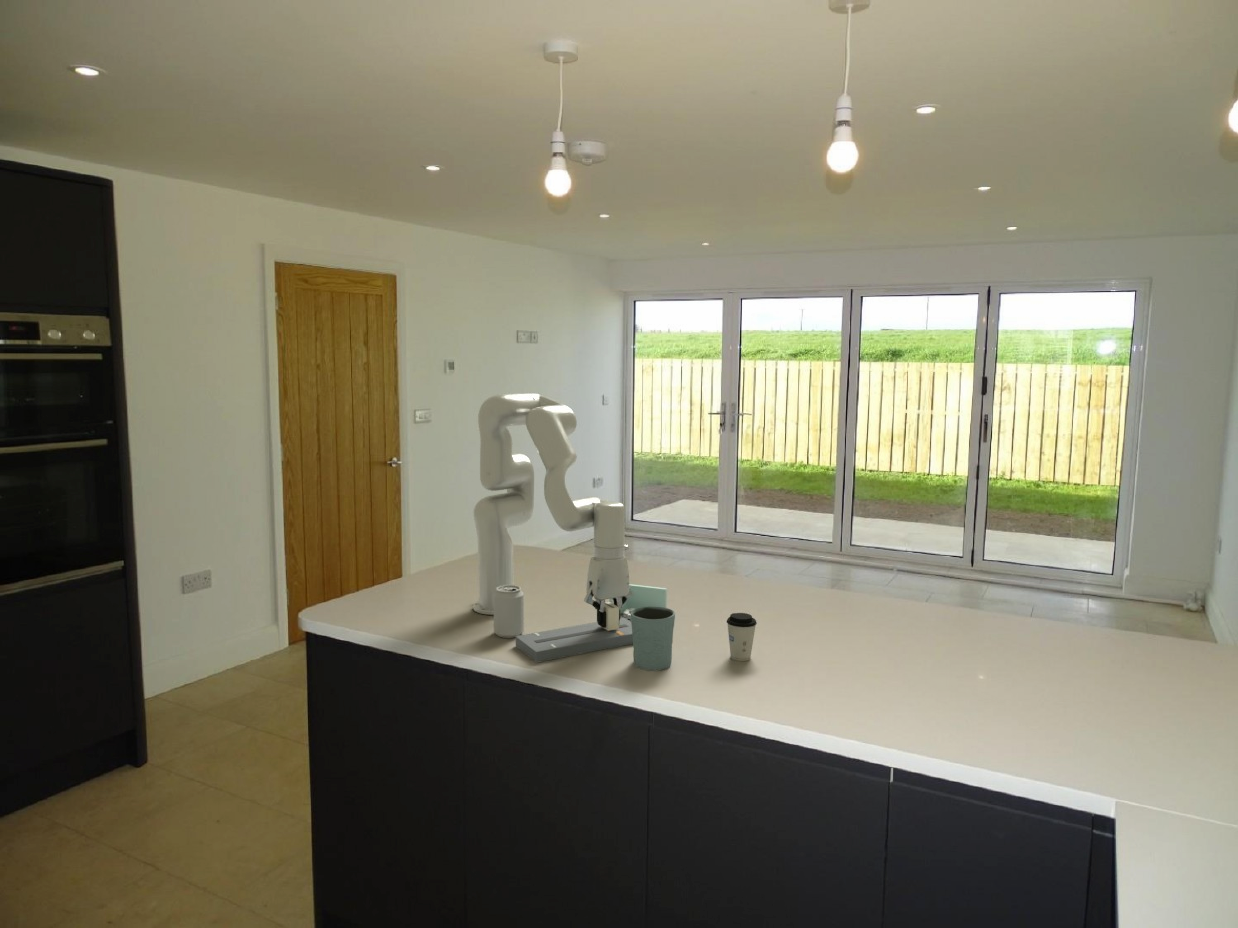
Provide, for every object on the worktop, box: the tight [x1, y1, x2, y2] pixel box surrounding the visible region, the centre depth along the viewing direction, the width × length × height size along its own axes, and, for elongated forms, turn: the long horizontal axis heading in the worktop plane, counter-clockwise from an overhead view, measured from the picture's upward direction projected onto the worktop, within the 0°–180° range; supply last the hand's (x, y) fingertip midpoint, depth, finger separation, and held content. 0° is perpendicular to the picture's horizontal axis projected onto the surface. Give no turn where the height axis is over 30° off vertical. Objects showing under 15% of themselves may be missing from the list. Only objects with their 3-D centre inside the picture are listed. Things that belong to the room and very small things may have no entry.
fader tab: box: [599, 601, 619, 631], centre depth 203 cm, size 5×3×6 cm, turn 30°
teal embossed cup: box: [631, 606, 676, 671], centre depth 187 cm, size 10×10×12 cm
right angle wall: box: [609, 583, 668, 621], centre depth 221 cm, size 12×12×8 cm
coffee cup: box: [726, 612, 758, 662], centre depth 191 cm, size 7×7×10 cm
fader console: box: [515, 616, 633, 663], centre depth 200 cm, size 12×30×3 cm, turn 120°
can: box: [493, 584, 525, 639], centre depth 206 cm, size 8×8×12 cm
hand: (608, 624), depth 203 cm, fingers closed on fader tab, 3 cm apart
